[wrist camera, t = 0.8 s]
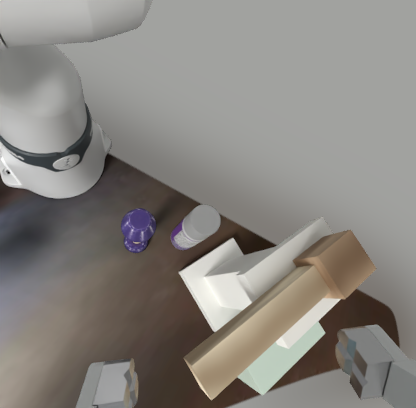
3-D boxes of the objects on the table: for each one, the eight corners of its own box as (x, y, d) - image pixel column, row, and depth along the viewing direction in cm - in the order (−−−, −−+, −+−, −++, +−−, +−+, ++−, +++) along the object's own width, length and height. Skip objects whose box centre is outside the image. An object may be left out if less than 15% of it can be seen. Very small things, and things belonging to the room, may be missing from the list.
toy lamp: (126, 258, 49) (130, 243, 34) (116, 233, 49) (115, 208, 34) (151, 247, 51) (166, 228, 35) (142, 224, 51) (152, 196, 36)
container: (181, 220, 54) (203, 196, 40) (199, 237, 54) (227, 219, 40) (165, 238, 52) (182, 219, 38) (183, 255, 52) (207, 242, 38)
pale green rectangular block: (206, 343, 49) (245, 365, 34) (256, 302, 54) (309, 307, 39) (218, 363, 48) (262, 395, 34) (268, 321, 53) (325, 333, 39)
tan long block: (178, 349, 23) (189, 360, 20) (323, 236, 31) (350, 229, 27) (206, 397, 23) (222, 417, 19) (345, 271, 30) (376, 268, 27)
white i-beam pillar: (178, 272, 51) (232, 256, 27) (229, 239, 56) (312, 201, 32) (213, 330, 50) (300, 368, 26) (261, 292, 54) (373, 293, 31)
